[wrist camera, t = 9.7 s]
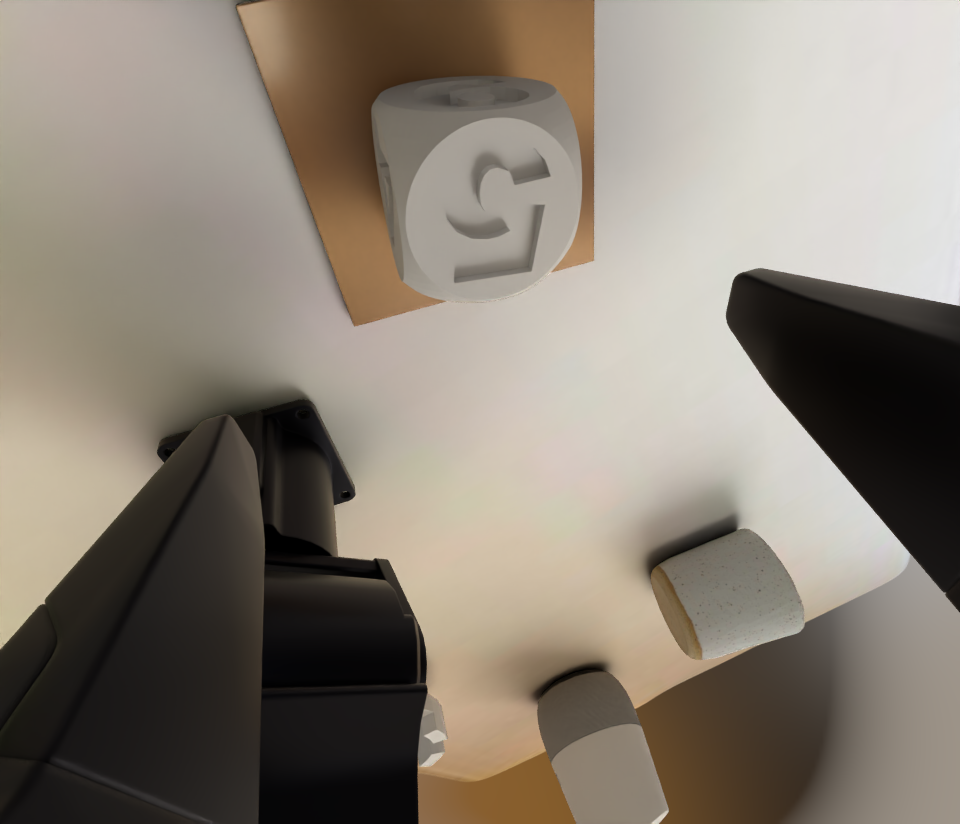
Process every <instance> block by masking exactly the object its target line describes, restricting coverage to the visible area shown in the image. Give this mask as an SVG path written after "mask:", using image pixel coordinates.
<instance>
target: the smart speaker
mask: <svg viewBox="0 0 960 824" xmlns="http://www.w3.org/2000/svg"><path fill="white" fill-rule="evenodd" d="M537 715H538V724H539V729H540V733H541V737H542V740H543V743H544V746H545V749H546V751H547V754H548V756H549V759H550V762H551V764H552V767H553V769H554V771H555V774H556V776H557V779H558V781H559V783H560V785H561V788H562V790H563V793H564V795H565V797H566V800H567V802H568V804H569V807H570V809H571V812H572V814H573V816H574V819H575V821H576V823H577V824H659V822H660V821H661V820H662V819H663V818H664V817H665V816H666V814H667V813H668V811H669V810H668V806H667V803H666V800H665V797H664V794H663V791H662V788H661V785H660V782H659V778H658V775H657V773H656V769H655V766H654V763H653V761H652V758H651V754H650V751H649V748H648V745H647V742H646V739H645V736H644V733H643V730H642V727H641V725H640V722H639V719H638V717H637V714H636V712H635V709H634V707H633V704H632V702H631V700H630V698H629V696H628V694H627V692H626V691H625V689H624V688H623V686H622V685H621V684H620V682H619V681H618V680H617V679H616V678H615V677H614V676H613V675H611V674H610V673H608V672H605V671H602V670H595V669H594V670H583V671H579V672H576V673H573V674H570V675H567V676H565V677H563V678H561V679H559V680H558V681H556V682H555V683H553V684H552V685H551V686H549V687H548V688H547V689H546V690H545V692H544V693H543V694H542V696H541V698H540V700H539V703H538V710H537Z"/></svg>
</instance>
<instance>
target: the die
mask: <svg viewBox="0 0 960 824" xmlns="http://www.w3.org/2000/svg"><path fill="white" fill-rule="evenodd" d="M371 118H372V132H373V141H374V150H375V158H376V165H377V172H378V178H379V185H380V191H381V197H382V202H383V208H384V214H385V219H386V224H387V229H388V234H389V239H390V243H391V248H392V252H393V256H394V260H395V264H396V268H397V271H398V274H399V277H400V279H401V281H402V282H404V283H405V284H407V285H408V286H409V287H411V288H412V289H414V290H415V291H417V292H419V293H421V294H423V295H426V296H428V297H432V298H435V299H439V300H444V301H451V302H463V303H476V302H489V301H495V300H501V299H505V298H509V297H512V296H515V295H518V294H521V293H523V292H525V291H527V290H529V289H531V288H532V287H534V286H535V285H536V284H538V283H539V282H540V281H542V280H543V279H544V278H545V277H546V276H547V275H548V274H549V273H550V272H551V271H552V270H553V269H554V268H555V267H556V266H557V265H558V264H559V262H560V261H561V260H562V259H563V257H564V256H565V254H566V253H567V251H568V250H569V248H570V247H571V245H572V242H573V240H574V237H575V234H576V231H577V227H578V222H579V217H580V209H581V199H582V167H581V155H580V147H579V141H578V136H577V131H576V127H575V123H574V120H573V117H572V114H571V112H570V109H569V107H568V105H567V103H566V101H565V99H564V98H563V97H562V95H561V94H560V93H559V92H558V90H557V89H556V88H555V87H554V86H553V85H551V84H549V83H546V82H543V81H539V80H534V79H528V78H520V77H508V76H459V77H445V78H435V79H427V80H421V81H415V82H410V83H405V84H401V85H397V86H394V87H391V88H389V89H386V90H384V91H383V92H381V93H380V94H379V96H378V97H377V99H376V100H375V102H374V103H373V105H372V108H371Z"/></svg>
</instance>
